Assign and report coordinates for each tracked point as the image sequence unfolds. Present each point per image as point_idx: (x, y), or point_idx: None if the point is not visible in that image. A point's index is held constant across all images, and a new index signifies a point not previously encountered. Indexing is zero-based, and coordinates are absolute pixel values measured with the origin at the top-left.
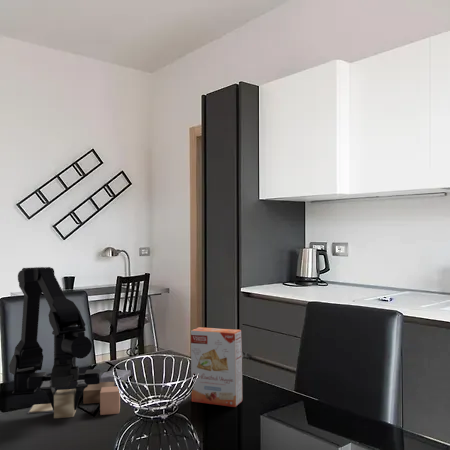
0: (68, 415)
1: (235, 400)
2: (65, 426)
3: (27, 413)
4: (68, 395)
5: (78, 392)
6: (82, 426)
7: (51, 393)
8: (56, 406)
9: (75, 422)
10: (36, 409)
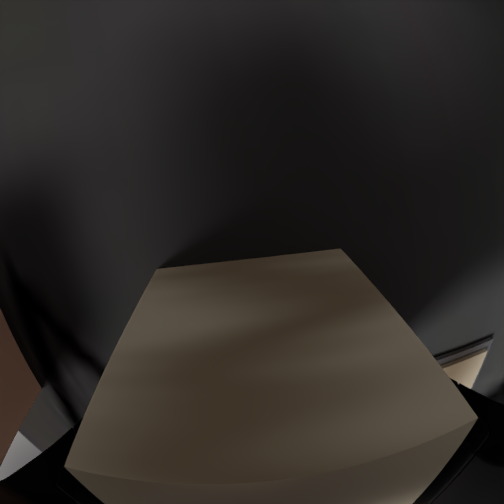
0: (201, 272)
1: None
2: (163, 14)
3: (491, 337)
4: (161, 465)
5: (42, 487)
6: (30, 36)
7: (497, 449)
8: (359, 312)
9: (91, 113)
10: None
